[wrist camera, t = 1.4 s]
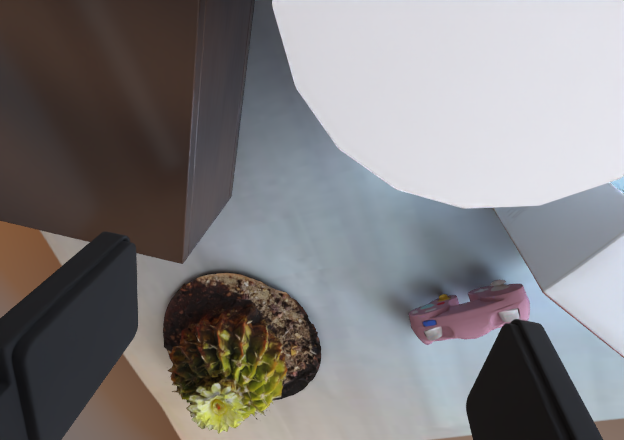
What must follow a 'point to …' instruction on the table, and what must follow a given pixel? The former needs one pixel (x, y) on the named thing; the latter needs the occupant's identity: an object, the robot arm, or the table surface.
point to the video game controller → (470, 313)
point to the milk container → (466, 92)
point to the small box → (577, 255)
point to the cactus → (237, 348)
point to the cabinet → (121, 117)
